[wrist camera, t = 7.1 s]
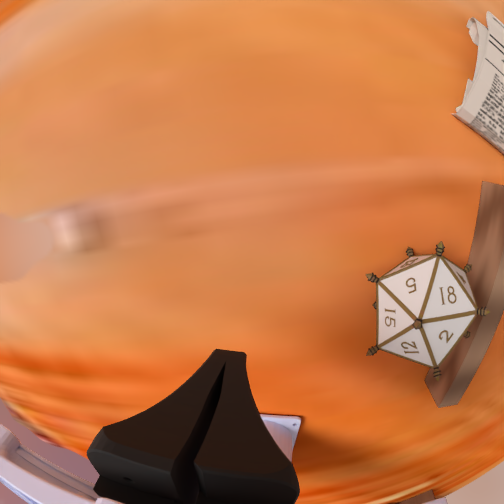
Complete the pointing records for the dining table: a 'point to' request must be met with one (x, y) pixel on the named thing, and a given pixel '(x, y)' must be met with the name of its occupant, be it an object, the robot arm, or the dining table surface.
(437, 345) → the game die
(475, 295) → the batten
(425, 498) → the grey angled block
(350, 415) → the dining table surface
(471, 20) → the newspaper
